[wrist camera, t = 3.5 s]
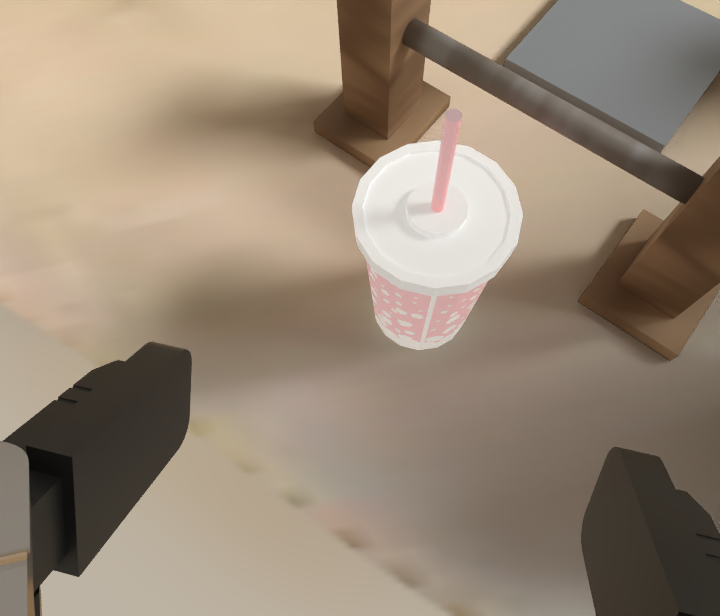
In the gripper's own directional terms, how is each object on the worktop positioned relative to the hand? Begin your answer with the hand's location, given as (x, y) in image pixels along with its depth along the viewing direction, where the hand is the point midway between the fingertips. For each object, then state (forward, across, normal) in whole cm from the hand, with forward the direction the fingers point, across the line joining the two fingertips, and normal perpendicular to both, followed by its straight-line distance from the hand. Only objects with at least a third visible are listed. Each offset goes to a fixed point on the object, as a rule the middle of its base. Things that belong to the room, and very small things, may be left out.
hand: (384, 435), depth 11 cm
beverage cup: (+18, 0, +5) cm, 19 cm away
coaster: (+31, -8, -8) cm, 33 cm away
